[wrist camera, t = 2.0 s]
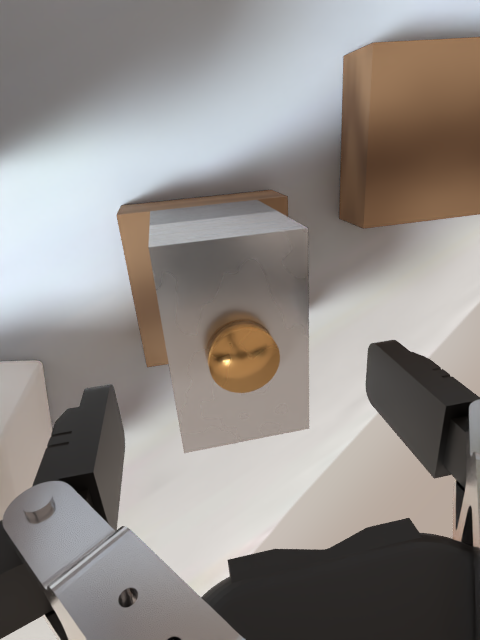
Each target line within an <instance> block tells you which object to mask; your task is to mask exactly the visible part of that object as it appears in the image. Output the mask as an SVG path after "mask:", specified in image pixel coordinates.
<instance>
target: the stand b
mask: <svg viewBox="0 0 480 640" xmlns="http://www.w3.org/2000/svg"><path fill="white" fill-rule="evenodd" d="M477 214H480V37H472V38H453V39H433V40H414V41H395V42H376V43H371V44H369V45H367V46H365V47H362V48H360V49H358V50H356V51H354V52H351V53H349V54H347V55H345V56H344V59H343V96H342V133H341V170H340V207H339V219H341V220H344V221H346V222H349V223H351V224H353V225H356V226H358V227H361V228H363V229H364V228H372V227H380V226H388V225H396V224H404V223H413V222H421V221H429V220H437V219H445V218H453V217H461V216H469V215H477Z"/></svg>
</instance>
